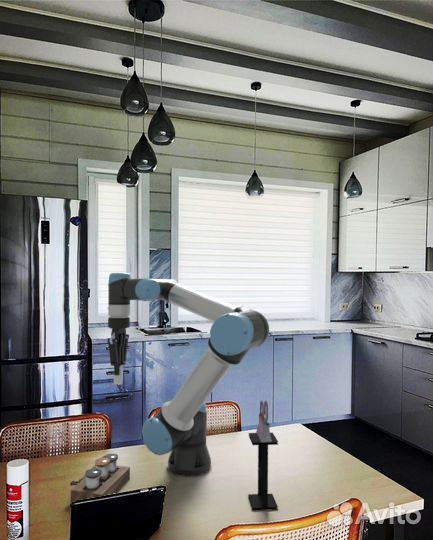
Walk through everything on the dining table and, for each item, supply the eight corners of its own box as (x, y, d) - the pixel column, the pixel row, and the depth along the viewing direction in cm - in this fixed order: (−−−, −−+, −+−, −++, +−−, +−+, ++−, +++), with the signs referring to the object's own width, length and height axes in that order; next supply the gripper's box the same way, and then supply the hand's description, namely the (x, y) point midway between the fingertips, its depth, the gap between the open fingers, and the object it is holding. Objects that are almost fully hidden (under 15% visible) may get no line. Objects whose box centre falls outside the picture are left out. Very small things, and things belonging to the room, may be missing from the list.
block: (129, 479, 134) (129, 467, 135) (101, 509, 117) (101, 494, 117) (102, 475, 137) (102, 463, 137) (70, 504, 119) (70, 490, 120)
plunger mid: (111, 483, 129) (112, 458, 129) (104, 490, 124) (105, 464, 125) (99, 482, 130) (99, 456, 130) (91, 488, 125) (92, 462, 126)
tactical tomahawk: (88, 490, 129) (88, 487, 129) (69, 486, 131) (69, 482, 131) (119, 461, 150) (119, 458, 150) (103, 457, 151) (103, 454, 151)
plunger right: (120, 478, 134) (120, 454, 134) (113, 485, 130) (113, 460, 130) (107, 476, 135) (108, 452, 135) (100, 483, 131) (101, 458, 131)
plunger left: (102, 495, 123) (103, 469, 123) (95, 503, 119) (95, 475, 119) (89, 493, 124) (90, 467, 125) (81, 501, 120) (82, 474, 120)
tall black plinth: (247, 494, 126) (247, 395, 127) (271, 493, 126) (271, 395, 127) (253, 513, 115) (253, 406, 116) (279, 512, 116) (279, 405, 117)
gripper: (117, 314, 152) (116, 379, 151) (100, 317, 139) (99, 388, 139) (136, 315, 151) (135, 380, 150) (121, 318, 138) (120, 389, 137)
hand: (118, 383), depth 144 cm, fingers closed
